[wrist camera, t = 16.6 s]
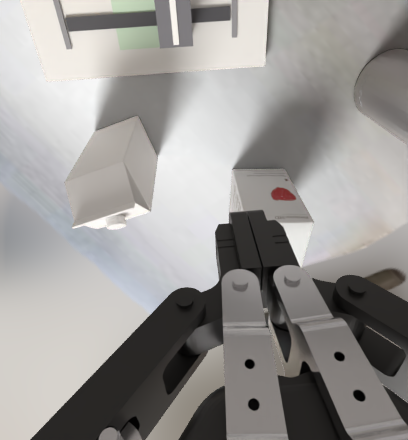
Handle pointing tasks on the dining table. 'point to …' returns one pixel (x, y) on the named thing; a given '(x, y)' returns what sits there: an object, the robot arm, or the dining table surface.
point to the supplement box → (273, 203)
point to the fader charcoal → (174, 23)
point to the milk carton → (113, 177)
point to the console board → (142, 37)
